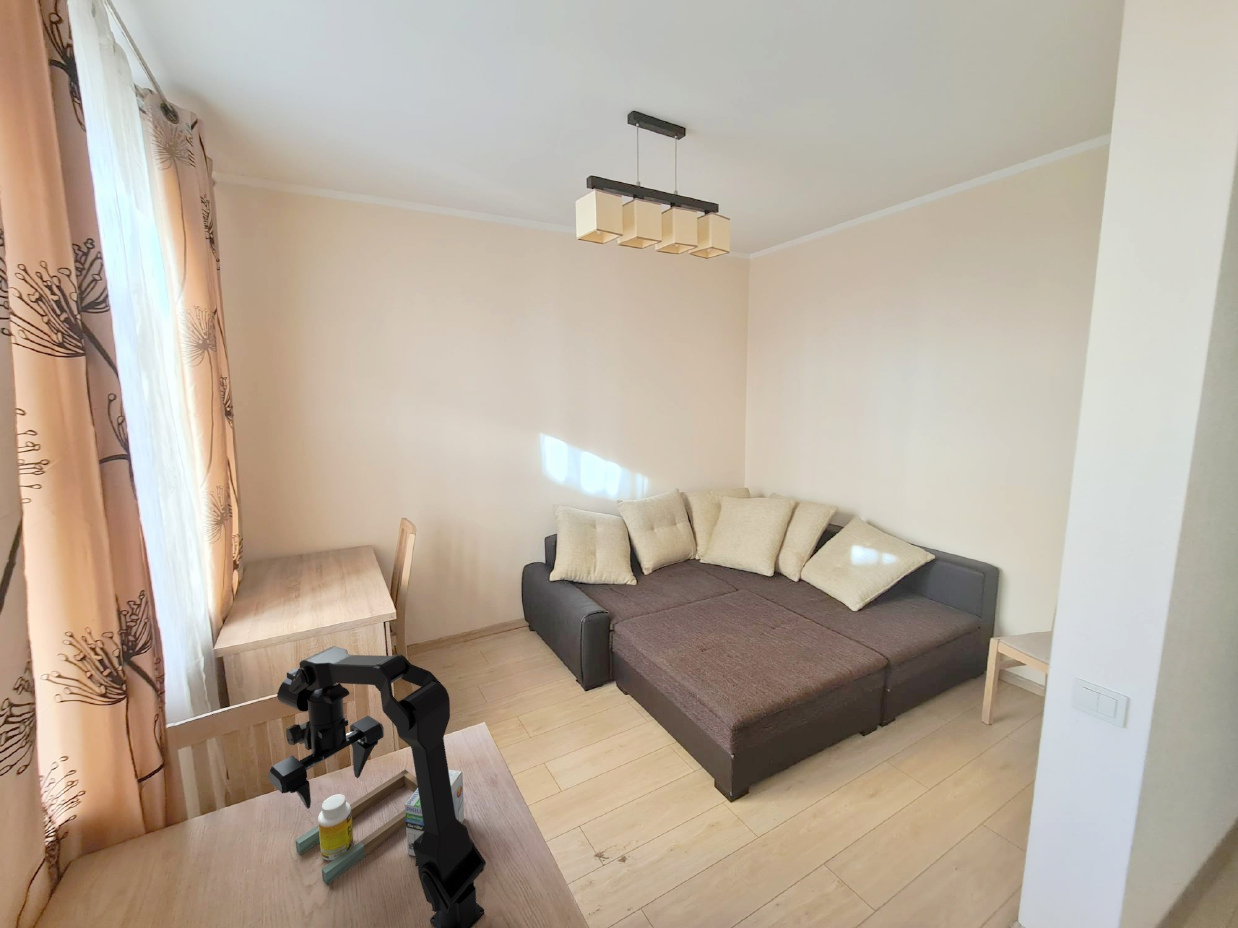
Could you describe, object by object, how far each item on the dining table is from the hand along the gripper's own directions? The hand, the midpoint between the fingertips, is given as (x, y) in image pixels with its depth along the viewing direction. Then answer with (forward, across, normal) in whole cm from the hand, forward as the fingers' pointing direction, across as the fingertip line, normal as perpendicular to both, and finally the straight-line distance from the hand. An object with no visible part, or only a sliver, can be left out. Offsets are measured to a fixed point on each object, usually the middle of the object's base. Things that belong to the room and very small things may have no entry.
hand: (333, 791), depth 99 cm
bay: (+12, -6, 0) cm, 14 cm away
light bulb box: (+12, -13, +14) cm, 22 cm away
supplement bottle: (+12, 0, 0) cm, 12 cm away
